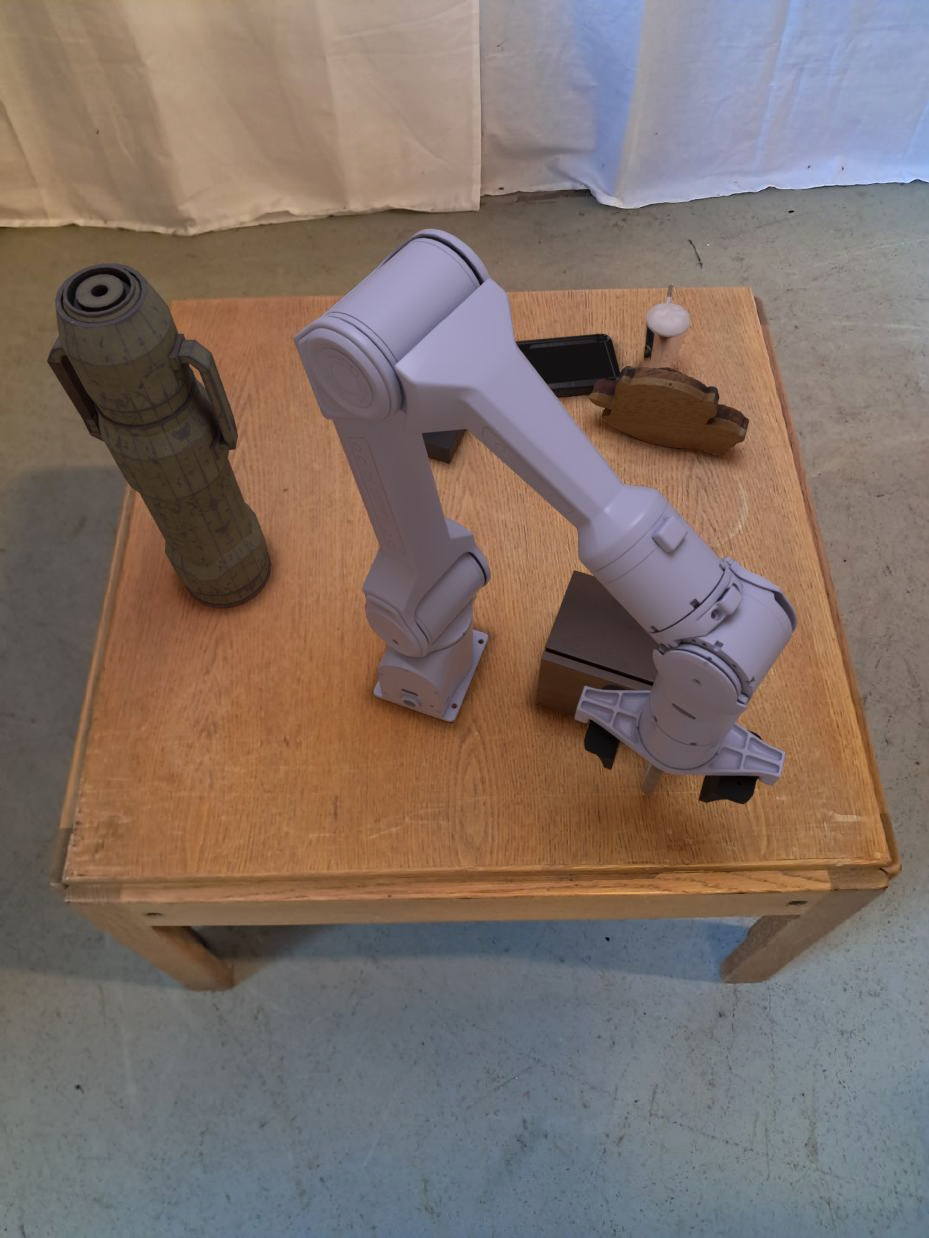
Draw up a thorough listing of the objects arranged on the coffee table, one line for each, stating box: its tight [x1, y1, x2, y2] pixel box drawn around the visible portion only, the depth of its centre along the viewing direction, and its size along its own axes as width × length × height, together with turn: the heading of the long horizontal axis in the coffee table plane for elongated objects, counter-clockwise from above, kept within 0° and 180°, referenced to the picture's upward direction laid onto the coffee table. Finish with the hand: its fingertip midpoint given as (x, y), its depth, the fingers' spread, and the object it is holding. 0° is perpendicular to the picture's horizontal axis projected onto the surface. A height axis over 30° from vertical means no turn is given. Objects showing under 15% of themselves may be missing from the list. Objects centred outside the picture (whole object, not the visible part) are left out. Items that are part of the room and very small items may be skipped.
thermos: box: [46, 262, 272, 609], centre depth 75 cm, size 9×12×35 cm
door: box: [534, 650, 666, 796], centre depth 76 cm, size 6×14×9 cm, turn 69°
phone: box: [515, 333, 621, 398], centre depth 102 cm, size 8×1×15 cm
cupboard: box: [544, 569, 661, 686], centre depth 80 cm, size 8×14×10 cm, turn 69°
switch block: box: [422, 429, 467, 464], centre depth 97 cm, size 10×8×4 cm
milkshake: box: [641, 283, 691, 369], centre depth 98 cm, size 5×5×10 cm
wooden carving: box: [588, 365, 750, 456], centre depth 93 cm, size 16×5×10 cm, turn 76°
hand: (657, 773), depth 72 cm, fingers open, 7 cm apart
